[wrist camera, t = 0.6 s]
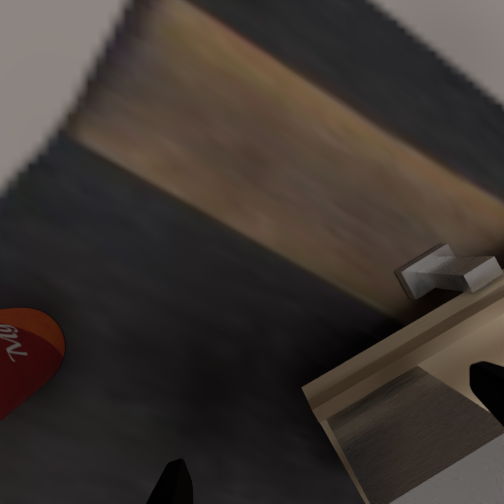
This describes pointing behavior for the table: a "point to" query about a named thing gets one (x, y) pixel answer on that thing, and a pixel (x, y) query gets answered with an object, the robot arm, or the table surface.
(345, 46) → the table surface
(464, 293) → the oak beam
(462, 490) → the metal block
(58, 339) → the paper cup
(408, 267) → the pivot stand
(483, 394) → the robot arm
